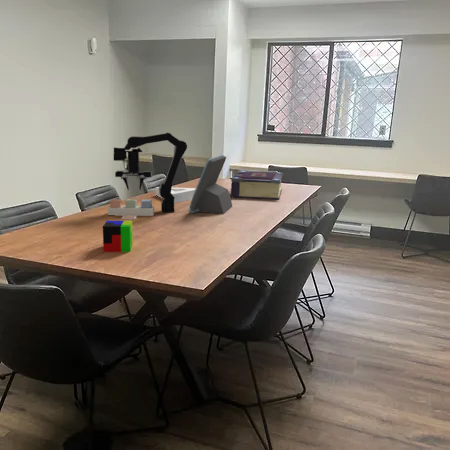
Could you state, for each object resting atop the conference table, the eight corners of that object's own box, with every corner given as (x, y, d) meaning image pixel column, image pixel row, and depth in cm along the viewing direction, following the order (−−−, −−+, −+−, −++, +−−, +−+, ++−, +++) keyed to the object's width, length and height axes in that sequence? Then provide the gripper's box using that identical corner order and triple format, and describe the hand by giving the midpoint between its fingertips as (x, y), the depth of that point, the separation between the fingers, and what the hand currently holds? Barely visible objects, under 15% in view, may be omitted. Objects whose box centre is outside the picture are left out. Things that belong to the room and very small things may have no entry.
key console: (154, 213, 251) (154, 205, 250) (153, 215, 244) (153, 208, 243) (110, 212, 249) (110, 205, 248) (107, 215, 242) (107, 207, 241)
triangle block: (173, 204, 279) (173, 194, 278) (140, 199, 292) (140, 189, 291) (201, 198, 304) (201, 188, 303) (170, 193, 317) (170, 184, 316)
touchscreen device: (203, 202, 285) (205, 153, 278) (234, 205, 281) (237, 155, 274) (186, 213, 251) (188, 157, 244) (221, 217, 248) (224, 160, 241)
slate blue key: (151, 208, 249) (151, 199, 248) (151, 210, 244) (150, 201, 243) (142, 208, 249) (142, 199, 247) (141, 210, 244) (141, 201, 243)
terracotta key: (121, 208, 248) (121, 199, 247) (120, 210, 243) (119, 201, 242) (111, 208, 247) (111, 199, 246) (110, 210, 242) (109, 200, 241)
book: (228, 197, 306) (229, 176, 302) (237, 188, 349) (238, 169, 346) (279, 200, 301) (281, 178, 297) (282, 190, 344) (283, 171, 341)
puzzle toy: (107, 244, 188) (106, 220, 185) (132, 244, 189) (132, 220, 186) (103, 251, 178) (102, 226, 176) (130, 251, 179) (129, 226, 177)
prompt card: (136, 216, 241) (136, 215, 241) (135, 219, 235) (135, 217, 235) (123, 216, 241) (123, 215, 240) (121, 218, 235) (121, 217, 235)
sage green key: (136, 208, 248) (136, 199, 247) (135, 210, 243) (135, 201, 242) (127, 208, 248) (126, 199, 247) (125, 210, 243) (125, 201, 242)
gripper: (152, 159, 254) (153, 188, 258) (117, 159, 253) (118, 187, 257) (150, 161, 244) (151, 191, 247) (114, 161, 242) (115, 190, 246)
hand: (134, 190), depth 250 cm, fingers open, 6 cm apart
